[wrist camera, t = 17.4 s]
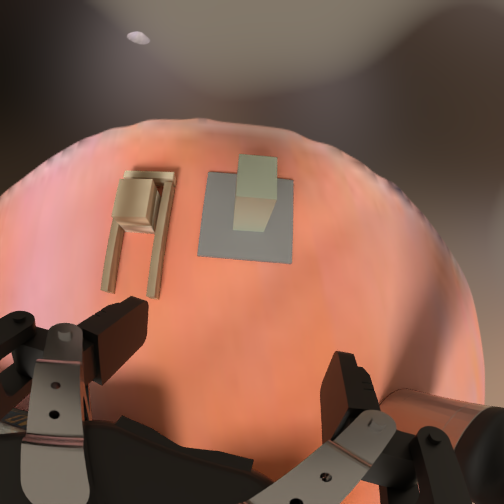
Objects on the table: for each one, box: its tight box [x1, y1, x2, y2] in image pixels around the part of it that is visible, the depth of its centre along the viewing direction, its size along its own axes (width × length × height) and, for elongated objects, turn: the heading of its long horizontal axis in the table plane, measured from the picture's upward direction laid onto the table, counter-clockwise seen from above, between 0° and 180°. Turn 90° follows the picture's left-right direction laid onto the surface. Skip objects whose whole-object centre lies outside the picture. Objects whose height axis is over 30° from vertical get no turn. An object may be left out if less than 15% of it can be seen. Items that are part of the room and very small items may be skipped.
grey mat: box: [197, 172, 293, 264], centre depth 38 cm, size 12×12×1 cm
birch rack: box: [101, 171, 177, 299], centre depth 36 cm, size 7×16×2 cm, turn 176°
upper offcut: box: [112, 179, 157, 226], centre depth 33 cm, size 4×5×3 cm
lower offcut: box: [120, 191, 161, 234], centre depth 36 cm, size 4×5×3 cm
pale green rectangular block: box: [233, 154, 277, 232], centre depth 33 cm, size 4×5×10 cm
